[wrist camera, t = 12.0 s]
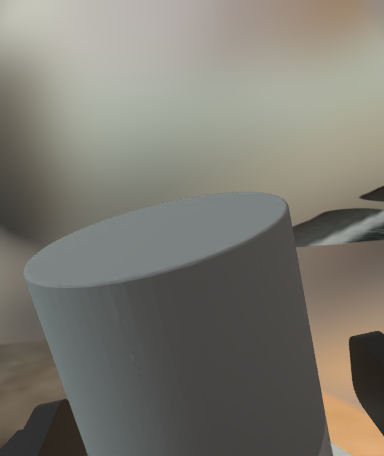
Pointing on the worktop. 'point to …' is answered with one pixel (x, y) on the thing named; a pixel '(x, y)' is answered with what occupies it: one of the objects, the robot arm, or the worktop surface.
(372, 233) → the worktop surface
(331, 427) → the worktop surface
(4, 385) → the worktop surface
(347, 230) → the worktop surface
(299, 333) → the container
